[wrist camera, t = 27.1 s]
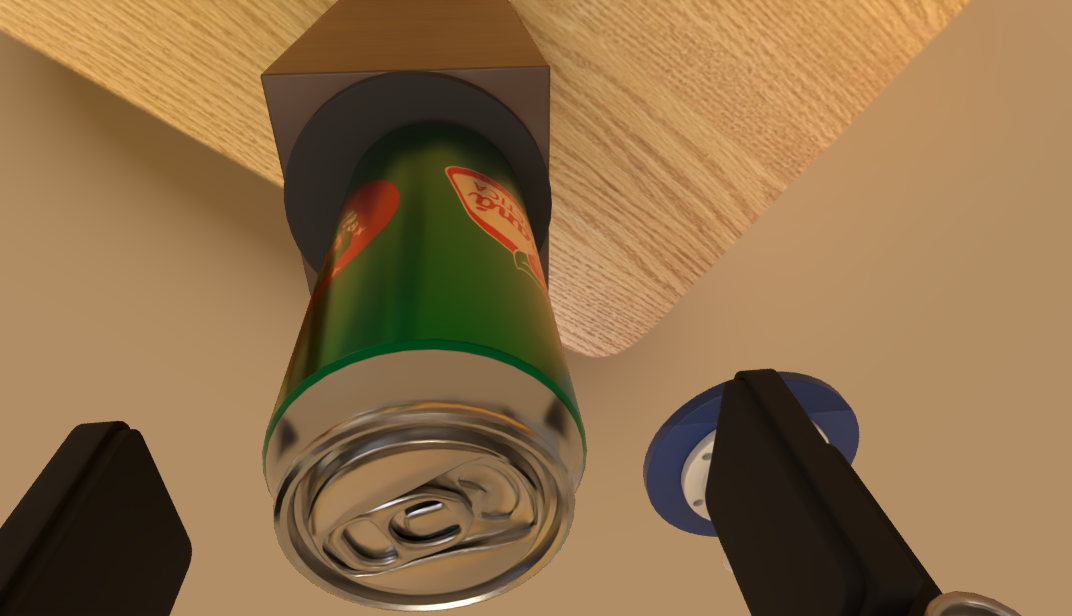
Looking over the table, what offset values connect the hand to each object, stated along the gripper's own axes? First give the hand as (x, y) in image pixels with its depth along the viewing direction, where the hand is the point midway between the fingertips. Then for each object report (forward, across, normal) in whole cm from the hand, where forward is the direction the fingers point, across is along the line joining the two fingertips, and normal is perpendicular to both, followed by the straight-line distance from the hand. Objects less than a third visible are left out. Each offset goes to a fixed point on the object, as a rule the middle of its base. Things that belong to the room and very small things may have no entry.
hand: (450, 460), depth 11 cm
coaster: (+11, +1, 0) cm, 11 cm away
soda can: (+11, 0, 0) cm, 11 cm away
